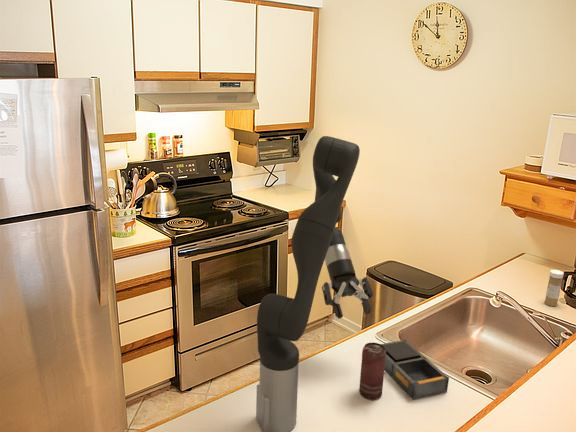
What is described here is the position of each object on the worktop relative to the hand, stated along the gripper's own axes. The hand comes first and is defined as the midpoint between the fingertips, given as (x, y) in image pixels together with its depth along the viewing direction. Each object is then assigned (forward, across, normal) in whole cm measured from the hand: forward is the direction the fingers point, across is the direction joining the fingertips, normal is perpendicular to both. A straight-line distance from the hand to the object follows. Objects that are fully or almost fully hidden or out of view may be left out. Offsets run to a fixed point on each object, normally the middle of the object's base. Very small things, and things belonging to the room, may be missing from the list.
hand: (354, 315), depth 142 cm
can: (+21, 0, +4) cm, 21 cm away
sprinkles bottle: (+1, +94, +24) cm, 97 cm away
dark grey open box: (+17, +15, +7) cm, 24 cm away
